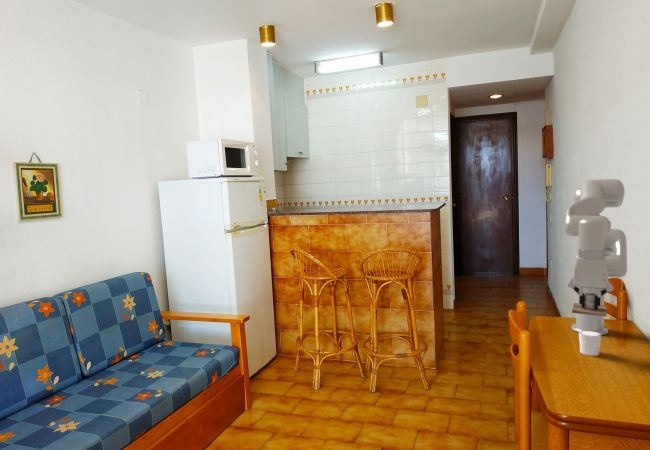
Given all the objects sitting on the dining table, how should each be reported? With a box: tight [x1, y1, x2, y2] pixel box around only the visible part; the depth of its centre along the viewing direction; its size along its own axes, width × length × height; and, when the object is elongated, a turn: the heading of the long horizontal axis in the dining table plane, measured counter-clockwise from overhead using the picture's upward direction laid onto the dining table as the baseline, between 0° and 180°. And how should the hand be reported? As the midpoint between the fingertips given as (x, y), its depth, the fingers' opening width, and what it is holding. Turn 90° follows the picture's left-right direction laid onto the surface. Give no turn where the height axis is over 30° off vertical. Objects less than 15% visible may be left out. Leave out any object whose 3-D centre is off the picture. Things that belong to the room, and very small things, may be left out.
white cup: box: [578, 331, 602, 357], centre depth 158 cm, size 7×7×7 cm
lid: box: [571, 293, 608, 317], centre depth 156 cm, size 10×10×6 cm
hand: (589, 306), depth 157 cm, fingers closed on lid, 3 cm apart
